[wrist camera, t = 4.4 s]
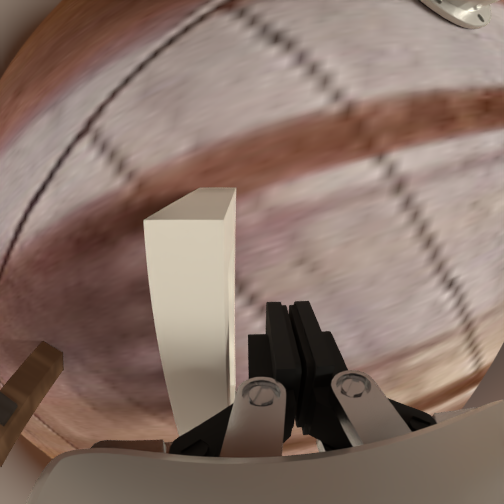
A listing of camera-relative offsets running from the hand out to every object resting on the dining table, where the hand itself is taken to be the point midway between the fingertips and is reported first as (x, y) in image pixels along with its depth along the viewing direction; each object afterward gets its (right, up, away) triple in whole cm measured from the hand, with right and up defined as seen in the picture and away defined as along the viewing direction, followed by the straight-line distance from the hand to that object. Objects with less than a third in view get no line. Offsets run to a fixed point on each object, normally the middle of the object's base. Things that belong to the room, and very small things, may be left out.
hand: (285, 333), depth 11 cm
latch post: (-20, -6, +9) cm, 23 cm away
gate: (-3, 0, +6) cm, 7 cm away
